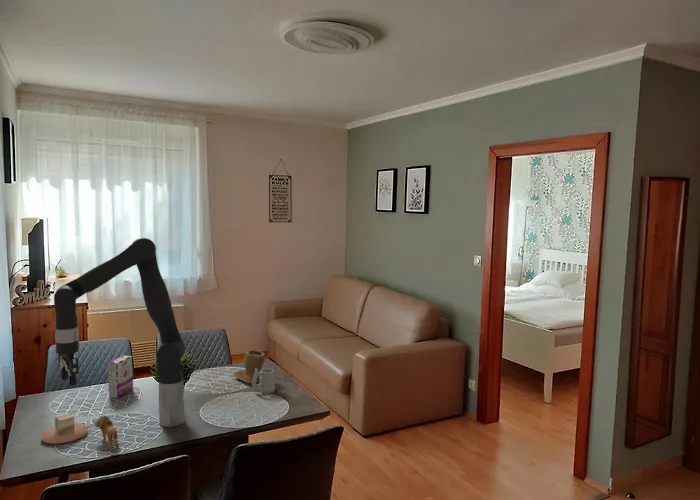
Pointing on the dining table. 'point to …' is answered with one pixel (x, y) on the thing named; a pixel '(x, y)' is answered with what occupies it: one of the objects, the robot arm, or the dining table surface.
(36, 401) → the dining table surface
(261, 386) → the mug
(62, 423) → the birch block
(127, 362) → the candy bar box
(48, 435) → the dish
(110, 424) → the lion figurine
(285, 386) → the dining table surface
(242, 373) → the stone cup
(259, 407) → the dining table surface
